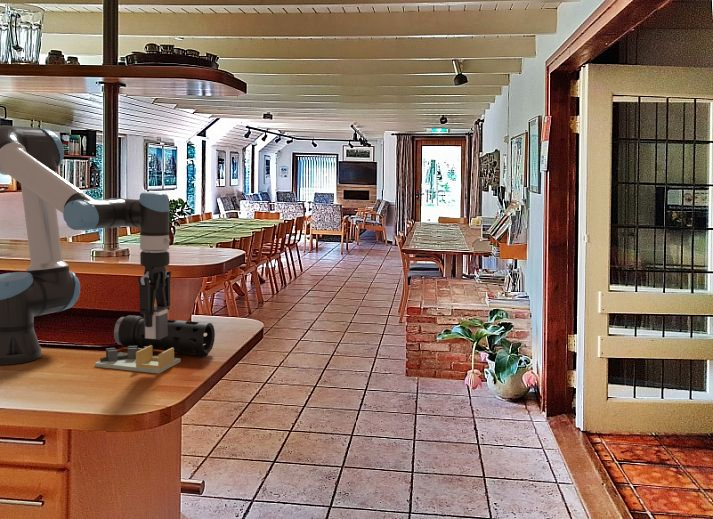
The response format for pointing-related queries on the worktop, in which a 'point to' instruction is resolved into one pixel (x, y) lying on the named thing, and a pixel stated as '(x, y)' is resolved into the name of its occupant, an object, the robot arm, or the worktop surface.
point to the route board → (130, 361)
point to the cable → (118, 358)
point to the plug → (160, 322)
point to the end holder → (154, 358)
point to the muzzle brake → (180, 336)
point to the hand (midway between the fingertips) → (155, 335)
